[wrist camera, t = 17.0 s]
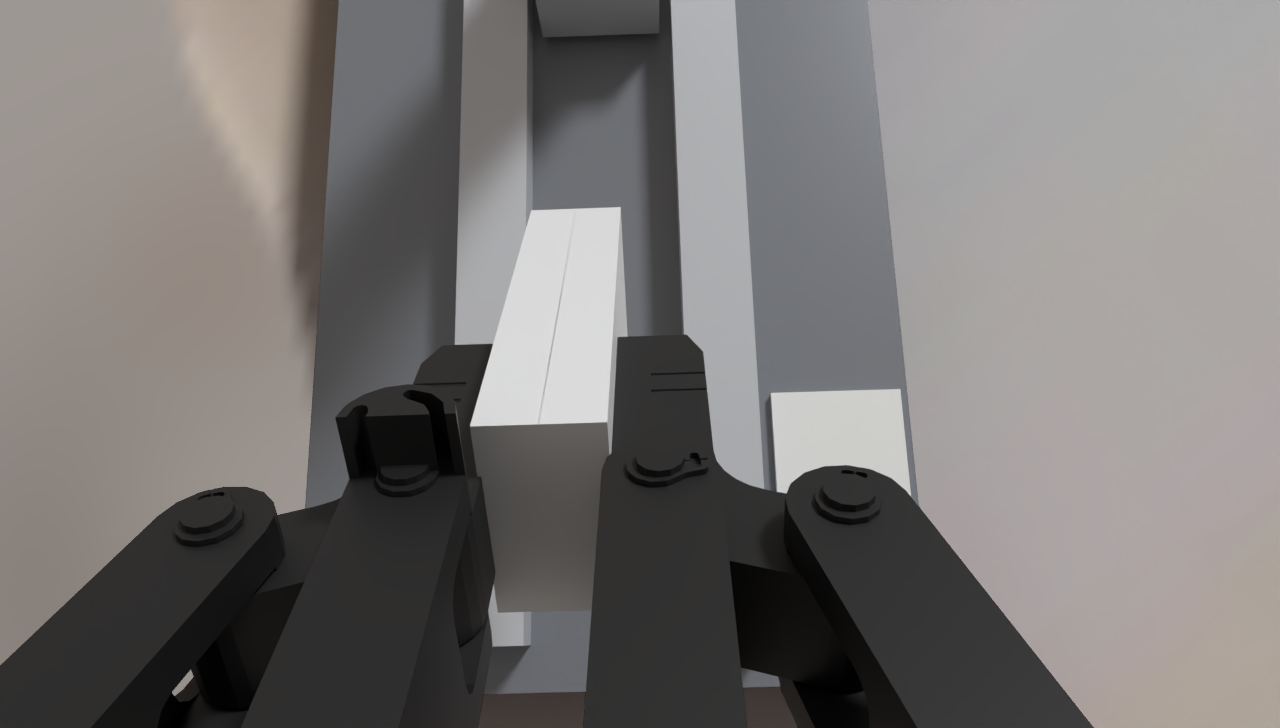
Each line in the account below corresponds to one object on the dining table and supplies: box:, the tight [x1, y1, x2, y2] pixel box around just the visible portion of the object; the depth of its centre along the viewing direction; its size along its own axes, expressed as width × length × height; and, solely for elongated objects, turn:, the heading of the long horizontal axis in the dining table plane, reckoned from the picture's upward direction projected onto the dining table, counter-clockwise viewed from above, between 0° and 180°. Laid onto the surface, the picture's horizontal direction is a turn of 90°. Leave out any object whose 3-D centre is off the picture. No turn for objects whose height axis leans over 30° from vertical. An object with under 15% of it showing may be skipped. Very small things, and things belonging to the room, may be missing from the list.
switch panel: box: [305, 0, 919, 694], centre depth 26 cm, size 26×14×4 cm, turn 2°
